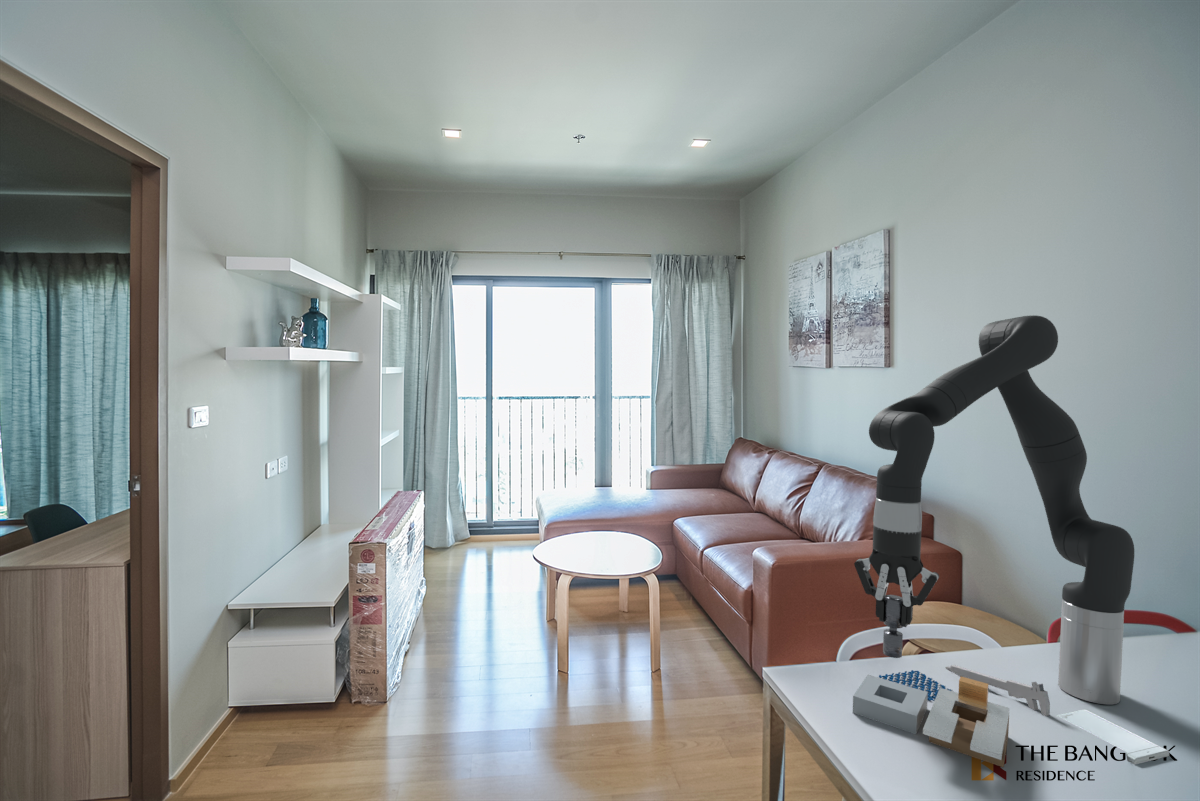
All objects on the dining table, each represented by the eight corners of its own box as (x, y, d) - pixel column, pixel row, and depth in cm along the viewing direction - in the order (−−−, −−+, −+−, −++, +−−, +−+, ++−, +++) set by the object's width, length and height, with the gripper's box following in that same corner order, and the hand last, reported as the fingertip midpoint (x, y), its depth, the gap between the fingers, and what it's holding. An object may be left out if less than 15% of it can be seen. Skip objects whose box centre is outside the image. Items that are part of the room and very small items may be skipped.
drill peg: (885, 648, 107) (887, 593, 107) (903, 653, 105) (905, 597, 105) (881, 654, 105) (883, 598, 104) (899, 659, 103) (902, 602, 103)
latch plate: (939, 692, 104) (940, 670, 104) (1009, 712, 98) (1010, 689, 98) (922, 733, 91) (923, 709, 91) (1001, 760, 85) (1002, 734, 85)
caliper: (1049, 722, 105) (1051, 687, 105) (1045, 723, 105) (1046, 688, 105) (948, 668, 124) (950, 638, 124) (944, 669, 124) (946, 639, 124)
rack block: (867, 695, 112) (867, 674, 112) (926, 714, 106) (927, 692, 106) (852, 718, 104) (853, 695, 104) (916, 740, 98) (916, 716, 98)
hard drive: (1053, 715, 105) (1134, 757, 93) (1086, 708, 107) (1169, 749, 96) (1052, 724, 105) (1134, 768, 93) (1085, 717, 107) (1169, 759, 96)
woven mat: (915, 677, 121) (916, 667, 121) (961, 704, 111) (962, 693, 111) (873, 683, 118) (873, 673, 118) (916, 712, 108) (917, 701, 108)
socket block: (938, 720, 104) (939, 692, 104) (1007, 742, 98) (1009, 712, 98) (928, 747, 96) (929, 717, 96) (1003, 773, 90) (1004, 741, 90)
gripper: (946, 528, 103) (942, 627, 104) (860, 515, 112) (857, 607, 112) (939, 536, 97) (935, 641, 98) (849, 522, 106) (845, 618, 106)
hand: (893, 622), depth 105 cm, fingers closed on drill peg, 3 cm apart
